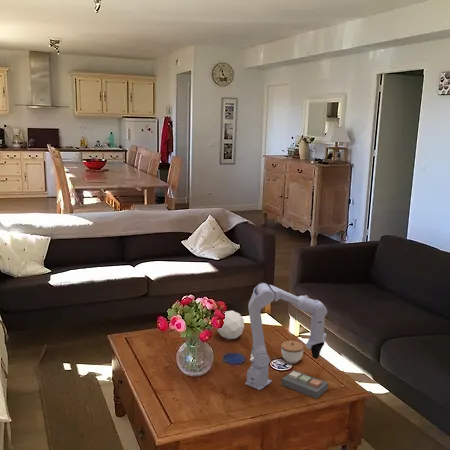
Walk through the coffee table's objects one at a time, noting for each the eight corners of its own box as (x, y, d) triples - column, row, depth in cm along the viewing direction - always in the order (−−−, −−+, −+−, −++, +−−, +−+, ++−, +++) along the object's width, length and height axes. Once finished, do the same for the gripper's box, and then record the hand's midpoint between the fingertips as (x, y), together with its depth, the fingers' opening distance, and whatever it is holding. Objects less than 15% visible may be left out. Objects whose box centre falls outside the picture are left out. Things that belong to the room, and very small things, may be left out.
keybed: (316, 398, 210) (317, 392, 209) (281, 384, 220) (281, 378, 220) (327, 389, 218) (328, 382, 217) (293, 376, 228) (293, 370, 227)
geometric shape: (231, 349, 264) (226, 335, 253) (213, 331, 273) (208, 316, 262) (251, 332, 268) (248, 317, 257) (233, 315, 277) (229, 300, 266)
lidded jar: (295, 368, 235) (296, 349, 233) (276, 361, 242) (276, 342, 240) (307, 359, 244) (308, 341, 242) (287, 353, 250) (288, 335, 248)
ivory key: (296, 382, 219) (296, 377, 218) (288, 379, 221) (288, 374, 221) (300, 379, 222) (301, 373, 221) (293, 376, 224) (293, 371, 224)
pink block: (316, 390, 213) (317, 385, 212) (308, 387, 215) (309, 382, 215) (321, 387, 216) (321, 381, 215) (313, 384, 218) (313, 378, 218)
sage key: (306, 386, 216) (306, 381, 215) (298, 383, 218) (299, 378, 218) (310, 383, 219) (311, 377, 218) (303, 380, 221) (303, 374, 221)
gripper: (317, 336, 212) (315, 366, 215) (333, 326, 224) (331, 354, 226) (302, 332, 217) (301, 361, 220) (319, 321, 228) (317, 350, 231)
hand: (315, 357), depth 223 cm, fingers closed
